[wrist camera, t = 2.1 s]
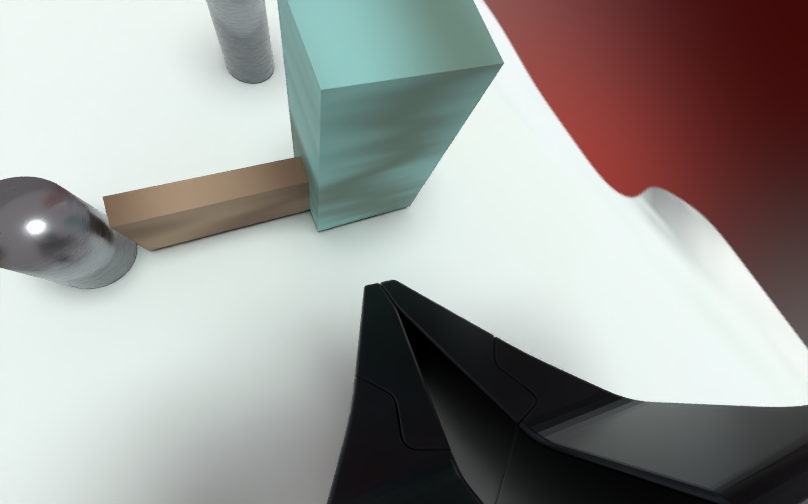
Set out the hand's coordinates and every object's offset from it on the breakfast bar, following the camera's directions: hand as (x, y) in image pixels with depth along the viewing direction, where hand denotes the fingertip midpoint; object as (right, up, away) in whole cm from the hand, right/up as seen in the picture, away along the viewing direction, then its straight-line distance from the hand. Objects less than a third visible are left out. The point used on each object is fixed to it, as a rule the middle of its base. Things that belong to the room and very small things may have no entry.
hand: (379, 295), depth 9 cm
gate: (-5, +4, +8) cm, 10 cm away
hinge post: (-12, +1, +5) cm, 13 cm away
